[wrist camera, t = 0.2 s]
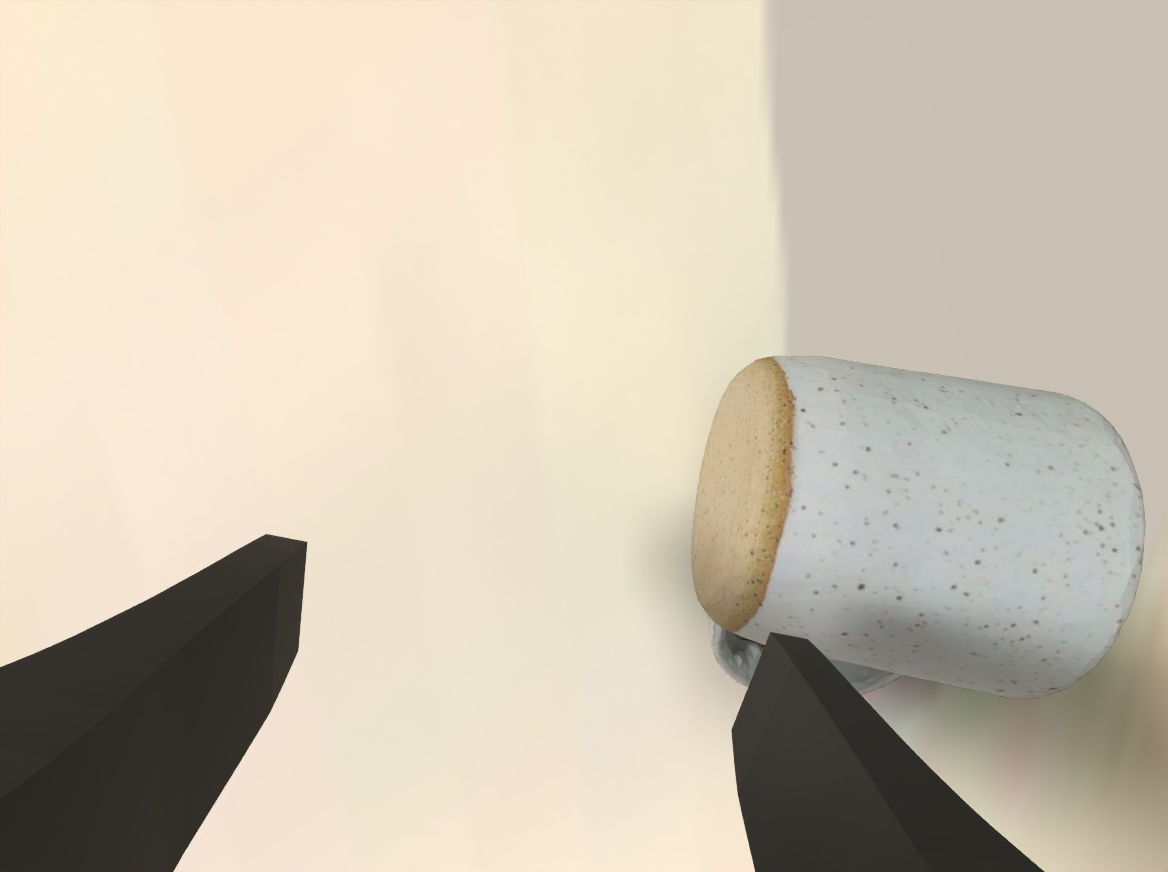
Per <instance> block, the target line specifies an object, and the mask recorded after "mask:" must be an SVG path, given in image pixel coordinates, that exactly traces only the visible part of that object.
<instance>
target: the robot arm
mask: <svg viewBox="0 0 1168 872" xmlns="http://www.w3.org/2000/svg"><path fill="white" fill-rule="evenodd" d="M306 551H307V542H304V541H299V540H294V539H289V538H284V537H279V536H273V535H268V534H266V535H264V536H262V537H260V538H258V539H256V540H254V541H252V542H251V543H249V544H247V545H245V546H243V547H242V548H240V549H238V550H236V551H235V552H233V553H231V554H229V555H228V556H226V557H224V558H222V559H221V560H219V561H217V562H215V563H214V564H212V565H210V566H208V567H207V568H205V569H203V570H201V571H199V572H198V573H196V574H194V575H192V576H190V577H188V578H187V579H185V580H183V581H181V582H179V583H178V584H176V585H174V586H172V587H170V588H168V589H167V590H165V591H163V592H161V593H159V594H157V595H156V596H154V597H152V598H150V599H148V600H146V601H144V602H142V603H140V604H138V605H136V606H134V607H132V608H130V609H128V610H126V611H124V612H122V613H120V614H118V615H116V616H114V617H112V618H110V619H108V620H106V621H104V622H102V623H100V624H97V625H95V626H93V627H91V628H89V629H87V630H85V631H83V632H81V633H79V634H77V635H75V636H73V637H71V638H68V639H66V640H64V641H62V642H60V643H57V644H55V645H53V646H51V647H48V648H46V649H44V650H41V651H39V652H37V653H34V654H32V655H30V656H27V657H25V658H22V659H20V660H17V661H15V662H12V663H10V664H7V665H5V666H2V667H0V872H173V871H174V869H175V868H176V866H177V864H178V862H179V861H180V859H181V857H182V855H183V854H184V852H185V850H186V849H187V847H188V845H189V844H190V842H191V841H192V839H193V837H194V836H195V834H196V832H197V831H198V829H199V828H200V826H201V824H202V823H203V821H204V820H205V818H206V816H207V815H208V813H209V811H210V810H211V808H212V807H213V805H214V803H215V802H216V800H217V798H218V797H219V795H220V794H221V792H222V790H223V789H224V787H225V785H226V784H227V782H228V781H229V779H230V777H231V776H232V774H233V773H234V771H235V769H236V768H237V766H238V764H239V763H240V761H241V760H242V758H243V756H244V755H245V753H246V751H247V750H248V748H249V746H250V745H251V743H252V741H253V740H254V738H255V736H256V735H257V733H258V732H259V730H260V728H261V727H262V725H263V723H264V722H265V720H266V718H267V717H268V715H269V713H270V711H271V709H272V707H273V705H274V703H275V701H276V699H277V697H278V694H279V692H280V690H281V688H282V686H283V684H284V682H285V679H286V677H287V675H288V673H289V670H290V668H291V666H292V664H293V661H294V659H295V657H296V655H297V652H298V647H299V635H300V623H301V611H302V599H303V587H304V575H305V563H306ZM732 741H733V753H734V764H735V773H736V782H737V791H738V797H739V802H740V806H741V811H742V816H743V820H744V824H745V829H746V833H747V838H748V842H749V847H750V851H751V855H752V859H753V864H754V868H755V872H1044V871H1043V870H1042V869H1041V868H1039V867H1038V866H1037V865H1036V864H1035V863H1033V862H1032V861H1031V860H1030V859H1029V858H1028V857H1026V856H1025V855H1024V854H1023V853H1022V852H1021V851H1020V850H1018V849H1017V848H1016V847H1015V846H1014V845H1013V844H1011V843H1010V842H1009V841H1008V840H1007V839H1006V838H1004V837H1003V836H1002V835H1001V834H1000V833H999V832H998V831H996V830H995V829H994V828H993V827H992V826H991V825H989V824H988V823H987V822H986V821H985V820H984V819H983V818H982V817H981V816H980V815H979V814H977V813H976V812H975V811H974V810H973V809H972V808H971V807H970V806H969V805H968V804H967V803H966V802H965V801H964V800H962V799H961V798H960V797H959V796H958V795H957V794H956V793H955V792H954V791H953V790H952V789H951V788H950V787H949V786H948V785H947V784H946V783H945V782H944V781H943V780H942V779H941V778H940V777H939V776H938V775H937V774H936V773H935V772H934V771H933V770H932V769H931V768H930V767H929V766H928V765H927V764H926V763H925V762H924V761H923V760H922V759H921V758H920V757H919V756H918V755H917V754H916V753H915V752H914V751H913V750H912V749H911V748H910V747H909V746H908V745H907V744H906V743H905V742H904V741H903V740H902V739H901V738H900V737H899V735H898V734H897V733H896V732H895V731H894V730H893V729H892V728H891V727H890V726H889V725H888V724H887V723H886V722H885V721H884V720H883V718H882V717H881V716H880V715H879V714H878V713H877V712H876V711H875V710H874V709H873V708H872V707H871V705H870V704H869V703H868V702H867V701H866V700H865V699H864V698H863V697H862V696H861V695H860V693H859V692H858V691H857V690H856V689H855V688H854V687H853V686H852V685H851V684H850V683H849V681H848V680H847V679H846V678H845V677H844V676H843V675H842V674H841V673H840V672H839V671H838V669H837V668H836V667H835V666H834V665H833V664H832V663H831V662H830V661H829V660H828V659H827V658H826V657H825V656H824V654H823V653H822V652H821V651H820V650H819V649H818V648H817V647H816V646H815V645H814V644H812V643H811V642H810V641H809V640H808V639H805V638H800V637H795V636H790V635H785V634H779V633H774V632H770V634H769V636H768V639H767V641H766V644H765V646H764V649H763V651H762V654H761V656H760V659H759V662H758V664H757V667H756V669H755V672H754V674H753V677H752V679H751V682H750V684H749V687H748V690H747V692H746V695H745V697H744V700H743V702H742V705H741V707H740V710H739V712H738V715H737V717H736V720H735V723H734V725H733V728H732Z"/></svg>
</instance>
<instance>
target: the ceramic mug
mask: <svg viewBox="0 0 1168 872" xmlns="http://www.w3.org/2000/svg"><path fill="white" fill-rule="evenodd" d="M1144 535H1145V514H1144V505H1143V496H1142V491H1141V487H1140V484H1139V481H1138V478H1137V474H1136V471H1135V467H1134V465H1133V462H1132V459H1131V457H1130V455H1129V452H1128V450H1127V448H1126V446H1125V444H1124V442H1123V440H1122V438H1121V437H1120V435H1118V433H1117V431H1116V430H1115V429H1114V427H1113V426H1112V425H1111V424H1110V423H1109V422H1108V421H1107V420H1106V419H1105V418H1104V417H1103V416H1102V415H1101V414H1100V413H1099V412H1097V411H1096V410H1095V409H1093V408H1092V407H1090V406H1089V405H1087V404H1086V403H1084V402H1081V401H1079V400H1077V399H1074V398H1072V397H1070V396H1066V395H1063V394H1059V393H1055V392H1049V391H1042V390H1035V389H1028V388H1021V387H1015V386H1009V385H1002V384H996V383H990V382H984V381H977V380H971V379H964V378H958V377H951V376H945V375H938V374H931V373H924V372H914V371H908V370H902V369H895V368H889V367H883V366H877V365H870V364H864V363H858V362H852V361H847V360H841V359H835V358H829V357H823V356H773V357H767V358H762V359H758V360H755V361H754V362H753V363H751V364H750V365H748V366H747V367H746V368H744V369H743V370H742V371H740V372H739V373H738V374H737V375H736V376H735V377H734V378H733V380H732V381H731V382H730V384H729V385H728V387H727V389H726V391H725V393H724V395H723V397H722V399H721V401H720V404H719V406H718V409H717V411H716V414H715V417H714V420H713V424H712V427H711V430H710V434H709V437H708V441H707V444H706V449H705V453H704V458H703V462H702V467H701V471H700V477H699V484H698V490H697V497H696V504H695V512H694V523H693V536H692V567H693V579H694V586H695V589H696V593H697V596H698V600H699V602H700V603H701V605H702V607H703V608H704V609H705V611H706V612H707V614H708V615H709V620H710V635H711V642H712V646H713V650H714V655H715V658H716V660H717V662H718V663H719V665H720V666H721V667H722V668H723V669H724V671H725V672H726V673H727V674H729V675H730V676H731V677H732V678H733V679H735V680H736V681H737V682H739V683H741V684H743V685H745V686H747V687H749V684H750V682H751V679H752V677H753V674H754V672H755V669H756V667H757V664H758V662H759V659H760V656H761V654H762V651H763V649H764V647H761V646H760V645H758V644H757V643H754V642H750V641H746V640H741V639H739V638H738V637H737V636H736V635H735V634H737V635H739V636H741V637H744V638H747V639H749V640H752V641H755V642H758V643H760V644H763V645H765V644H766V641H767V639H768V636H769V634H770V632H774V633H779V634H785V635H790V636H795V637H800V638H805V639H808V640H809V641H810V642H811V643H812V644H814V645H815V646H816V647H817V648H818V649H819V650H820V651H821V652H822V653H823V654H824V656H825V657H826V658H827V659H828V660H829V661H830V662H831V663H832V664H833V665H834V666H835V667H836V668H837V669H838V671H839V672H840V673H841V674H842V675H843V676H844V677H845V678H846V679H847V680H848V681H849V683H850V684H851V685H852V686H853V687H854V688H855V689H856V690H857V691H858V692H859V693H860V695H862V694H865V693H868V692H870V691H873V690H876V689H878V688H880V687H883V686H885V685H886V684H888V683H890V682H892V681H893V680H895V679H897V678H899V677H901V676H903V675H906V676H910V677H915V678H919V679H924V680H929V681H934V682H938V683H943V684H947V685H951V686H956V687H960V688H965V689H969V690H973V691H978V692H983V693H987V694H992V695H997V696H1002V697H1011V698H1021V699H1030V698H1038V697H1042V696H1045V695H1049V694H1052V693H1055V692H1058V691H1061V690H1064V689H1066V688H1067V687H1069V686H1070V685H1071V684H1073V683H1074V682H1076V681H1077V680H1078V679H1080V678H1081V677H1082V676H1084V675H1085V674H1086V673H1088V672H1089V671H1090V670H1091V669H1093V668H1094V667H1095V666H1096V665H1097V664H1098V662H1099V661H1100V660H1101V659H1102V658H1103V657H1104V655H1105V654H1106V653H1107V651H1108V650H1109V648H1110V647H1111V646H1112V644H1113V642H1114V641H1115V639H1116V638H1117V636H1118V635H1119V631H1120V628H1121V625H1122V624H1123V622H1124V621H1125V620H1126V619H1127V617H1128V614H1129V612H1130V609H1131V606H1132V604H1133V601H1134V598H1135V594H1136V590H1137V586H1138V582H1139V578H1140V574H1141V570H1142V562H1143V550H1144ZM734 633H735V634H734Z"/></svg>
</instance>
